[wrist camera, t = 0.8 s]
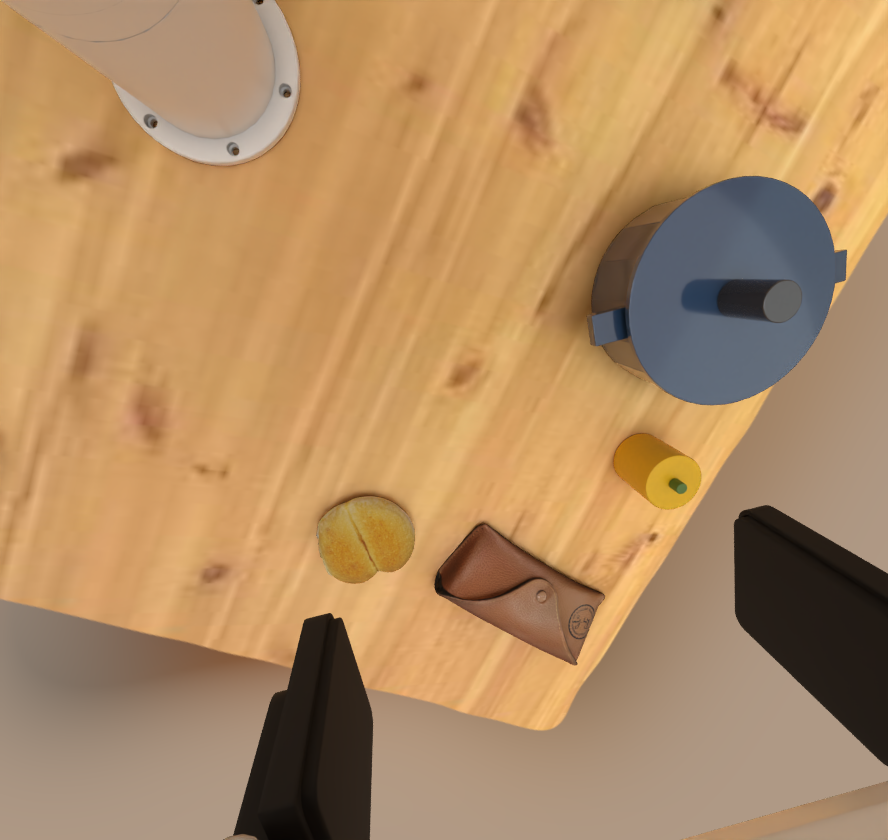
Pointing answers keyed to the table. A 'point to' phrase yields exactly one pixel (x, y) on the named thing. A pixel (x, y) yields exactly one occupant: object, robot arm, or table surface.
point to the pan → (614, 282)
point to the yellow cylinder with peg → (657, 471)
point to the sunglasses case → (518, 594)
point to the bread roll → (365, 539)
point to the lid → (730, 290)
